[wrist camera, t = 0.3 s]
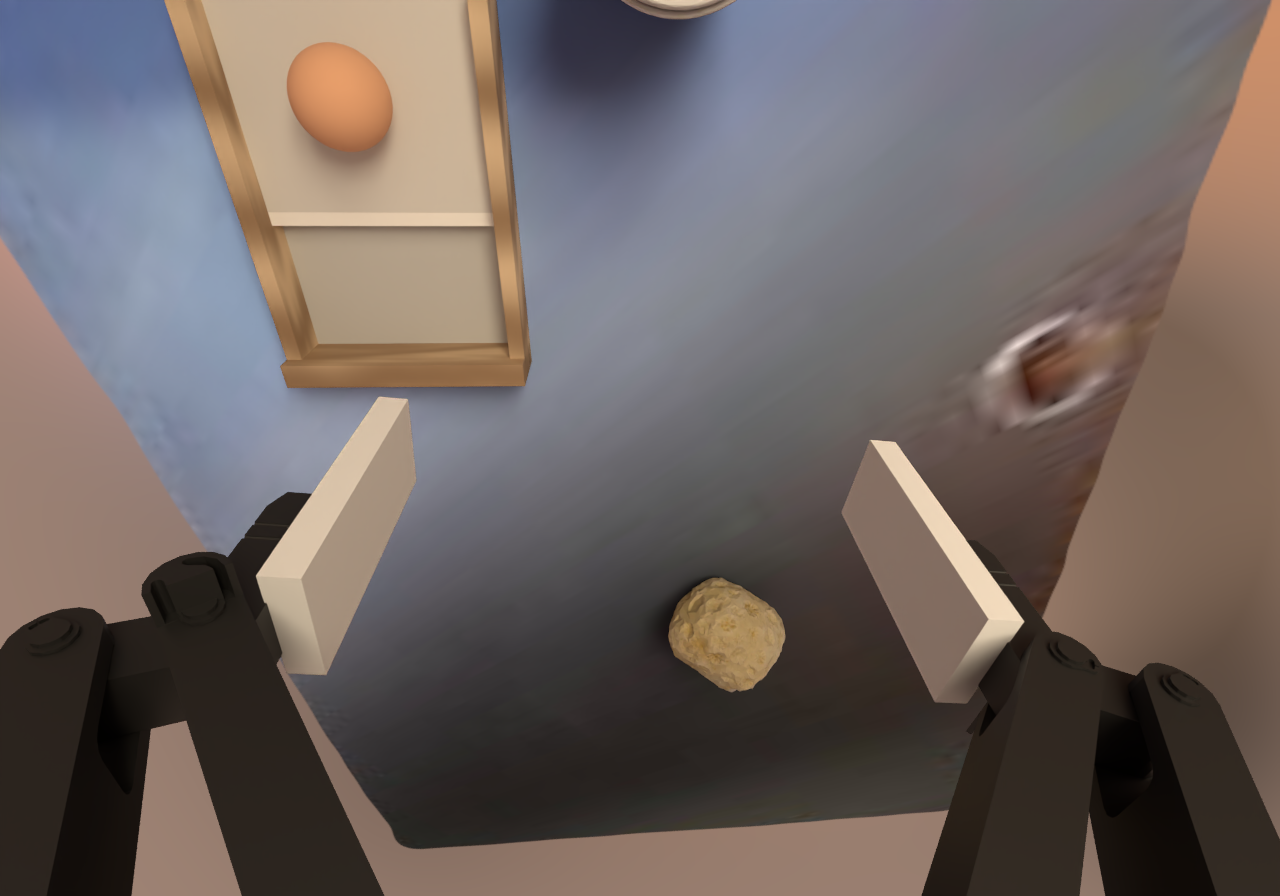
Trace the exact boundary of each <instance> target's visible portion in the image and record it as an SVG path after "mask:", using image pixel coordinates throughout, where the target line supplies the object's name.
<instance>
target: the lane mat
mask: <svg viewBox="0 0 1280 896" xmlns="http://www.w3.org/2000/svg"><path fill="white" fill-rule="evenodd" d="M201 1H202V4H203V7H204V10H205V14H206V17H207V20H208V23H209V26H210V29H211V33H212V36H213V39H214V42H215V45H216V49H217V52H218V55H219V58H220V61H221V64H222V68H223V71H224V74H225V77H226V80H227V84H228V87H229V90H230V93H231V96H232V99H233V103H234V106H235V109H236V112H237V115H238V119H239V122H240V125H241V128H242V131H243V135H244V138H245V141H246V144H247V147H248V150H249V154H250V157H251V160H252V163H253V166H254V170H255V173H256V176H257V179H258V182H259V185H260V189H261V192H262V195H263V198H264V201H265V205H266V208H267V211H268V214H269V217H270V220H271V224H272V226H283V229H284V232H285V236H286V239H287V242H288V245H289V249H290V252H291V255H292V259H293V262H294V265H295V268H296V272H297V275H298V278H299V281H300V285H301V288H302V291H303V295H304V298H305V301H306V304H307V308H308V311H309V314H310V318H311V321H312V324H313V327H314V331H315V334H316V337H317V340H318V344H393V343H508V339H507V331H506V322H505V314H504V305H503V297H502V289H501V280H500V272H499V263H498V255H497V247H496V238H495V230H494V221H493V213H492V205H491V196H490V188H489V179H488V171H487V163H486V154H485V146H484V137H483V129H482V121H481V112H480V104H479V95H478V87H477V79H476V70H475V62H474V53H473V45H472V37H471V28H470V20H469V11H468V3H467V0H201ZM322 42H334V43H339V44H343V45H346V46H349V47H351V48H353V49H355V50H357V51H359V52H360V53H361V54H363V55H364V56H366V57H367V58H368V59H369V60H370V61H371V62H372V63H373V64H374V65H375V66H376V67H377V68H378V70H379V71H380V72H381V74H382V76H383V77H384V79H385V81H386V83H387V85H388V88H389V90H390V94H391V98H392V104H393V115H392V121H391V125H390V127H389V129H388V131H387V133H386V135H385V136H384V138H383V139H382V140H381V141H380V142H379V143H377V144H376V145H375V146H373V147H371V148H369V149H367V150H363V151H359V152H344V151H340V150H336V149H333V148H330V147H328V146H326V145H324V144H322V143H321V142H319V141H318V140H316V139H315V138H314V137H312V136H311V135H310V134H309V133H308V132H307V131H306V130H305V129H304V128H303V127H302V125H301V124H300V123H299V121H298V120H297V118H296V116H295V114H294V113H293V110H292V108H291V105H290V102H289V99H288V94H287V75H288V71H289V68H290V66H291V64H292V62H293V60H294V59H295V57H296V56H297V55H298V54H299V53H300V52H301V51H302V50H304V49H305V48H307V47H308V46H311V45H313V44H317V43H322Z"/></svg>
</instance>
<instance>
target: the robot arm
mask: <svg viewBox="0 0 1280 896" xmlns="http://www.w3.org/2000/svg"><path fill="white" fill-rule="evenodd" d="M415 482H416V473H415V463H414V453H413V443H412V433H411V423H410V413H409V403H408V399H400V398H389V397H378V399H377V400H376V401H375V403H374V404H373V406H372V407H371V409H370V410H369V412H368V413H367V415H366V416H365V418H364V419H363V420H362V422H361V423H360V425H359V426H358V428H357V429H356V431H355V432H354V434H353V435H352V436H351V438H350V439H349V441H348V442H347V444H346V445H345V447H344V448H343V450H342V451H341V453H340V454H339V455H338V457H337V458H336V460H335V461H334V463H333V464H332V466H331V467H330V469H329V470H328V471H327V473H326V474H325V476H324V477H323V479H322V480H321V482H320V483H319V485H318V486H317V488H316V489H315V490H314V492H313V493H312V494H307V493H293V492H287V493H286V494H284V495H283V496H281V497H280V498H278V499H277V500H275V501H274V502H272V503H271V504H269V505H268V506H267V507H266V508H265V509H264V511H263V512H262V513H261V515H260V516H259V517H258V518H257V520H256V521H255V525H252V526H251V528H250V529H249V530H248V531H247V533H246V534H245V538H244V539H241V541H240V542H239V543H238V545H237V546H236V547H235V548H234V550H233V551H232V552H231V554H230V555H229V556H228V558H227V557H226V556H225V555H222V554H218V553H215V552H196V553H192V554H188V555H183V556H179V557H177V558H175V559H173V560H171V561H168V562H166V563H164V564H162V565H161V566H160V567H158V568H157V569H156V570H154V571H153V572H152V573H150V574H149V576H148V577H147V579H146V580H145V581H144V583H143V584H142V597H143V599H144V601H145V604H146V606H147V607H148V610H149V612H150V614H151V616H150V617H145V618H139V619H134V620H128V621H122V622H117V623H112V624H106V622H105V620H104V619H103V617H102V616H101V615H100V614H99V613H97V612H96V611H95V610H93V609H87V608H80V607H78V608H70V609H62V610H58V611H55V612H52V613H49V614H46V615H43V616H40V617H39V618H37V619H35V620H33V621H31V622H29V623H27V624H25V625H23V626H22V627H21V628H20V629H18V630H17V631H16V632H15V633H13V634H12V635H11V636H10V637H9V638H8V639H7V640H6V642H5V643H4V645H3V646H2V648H1V649H0V896H131V894H132V886H133V876H134V869H135V860H136V851H137V842H138V834H139V826H140V817H141V809H142V800H143V791H144V783H145V774H146V766H147V757H148V749H149V740H150V731H151V729H152V728H156V727H161V726H165V725H169V724H173V723H178V722H182V721H187V724H188V727H189V730H190V733H191V737H192V740H193V742H194V746H195V749H196V752H197V755H198V758H199V762H200V765H201V768H202V771H203V774H204V778H205V781H206V783H207V787H208V790H209V793H210V796H211V800H212V803H213V806H214V809H215V812H216V815H217V819H218V822H219V825H220V828H221V831H222V834H223V838H224V841H225V843H226V847H227V850H228V853H229V856H230V860H231V863H232V866H233V869H234V872H235V875H236V879H237V882H238V885H239V888H240V891H241V894H242V896H384V894H383V892H382V890H381V887H380V885H379V883H378V881H377V879H376V877H375V875H374V872H373V870H372V868H371V866H370V864H369V862H368V860H367V858H366V856H365V853H364V851H363V849H362V847H361V845H360V843H359V840H358V838H357V836H356V834H355V832H354V830H353V828H352V825H351V823H350V821H349V819H348V817H347V815H346V813H345V811H344V808H343V806H342V804H341V802H340V800H339V798H338V796H337V794H336V791H335V789H334V787H333V785H332V783H331V781H330V779H329V776H328V774H327V772H326V770H325V768H324V766H323V763H322V762H321V759H320V757H319V755H318V753H317V751H316V749H315V746H314V745H313V742H312V740H311V738H310V736H309V734H308V731H307V729H306V727H305V725H304V723H303V721H302V719H301V716H300V714H299V712H298V710H297V708H296V706H295V704H294V702H293V700H292V697H291V695H290V693H289V691H288V689H287V687H286V684H285V682H284V680H283V678H282V676H281V674H280V672H279V670H278V667H277V665H276V664H277V662H278V660H279V658H280V657H282V660H283V663H284V666H285V670H286V673H290V674H313V675H326V674H327V672H328V670H329V668H330V666H331V664H332V661H333V659H334V657H335V655H336V653H337V651H338V648H339V646H340V644H341V642H342V640H343V638H344V636H345V633H346V631H347V629H348V627H349V625H350V623H351V620H352V618H353V616H354V614H355V612H356V610H357V607H358V605H359V603H360V601H361V599H362V597H363V595H364V592H365V590H366V588H367V586H368V584H369V582H370V579H371V577H372V575H373V573H374V571H375V569H376V566H377V564H378V562H379V560H380V558H381V556H382V554H383V551H384V549H385V547H386V545H387V543H388V541H389V538H390V536H391V534H392V532H393V530H394V528H395V525H396V523H397V521H398V519H399V517H400V515H401V513H402V510H403V508H404V506H405V504H406V502H407V500H408V497H409V495H410V493H411V491H412V489H413V487H414V484H415ZM842 515H843V517H844V519H845V521H846V523H847V525H848V527H849V529H850V531H851V533H852V535H853V537H854V539H855V541H856V543H857V545H858V547H859V549H860V551H861V553H862V555H863V557H864V559H865V561H866V563H867V566H868V568H869V570H870V572H871V574H872V576H873V578H874V580H875V582H876V584H877V586H878V588H879V590H880V592H881V594H882V596H883V598H884V600H885V602H886V604H887V606H888V608H889V610H890V612H891V614H892V616H893V618H894V620H895V622H896V624H897V626H898V628H899V630H900V632H901V634H902V637H903V639H904V641H905V643H906V645H907V647H908V649H909V651H910V653H911V655H912V657H913V659H914V661H915V663H916V665H917V667H918V669H919V671H920V673H921V675H922V677H923V679H924V681H925V683H926V685H927V687H928V689H929V691H930V693H931V695H932V697H933V699H934V701H935V702H946V703H967V702H968V701H969V700H970V698H971V697H972V695H973V694H974V692H975V691H976V690H977V688H978V687H980V689H981V691H982V693H983V694H984V696H985V698H986V700H987V701H988V702H987V703H986V705H985V706H984V707H983V709H982V710H981V711H980V713H979V714H978V716H977V717H976V718H975V720H974V721H973V722H972V724H971V725H970V726H969V728H968V729H967V731H966V732H968V733H970V734H972V733H973V732H974V733H973V737H972V740H971V743H970V746H969V749H968V752H967V755H966V758H965V761H964V765H963V768H962V771H961V774H960V777H959V780H958V783H957V786H956V790H955V793H954V796H953V799H952V802H951V805H950V808H949V811H948V815H947V818H946V821H945V824H944V827H943V830H942V833H941V837H940V839H939V843H938V846H937V849H936V852H935V855H934V858H933V861H932V864H931V868H930V871H929V874H928V877H927V880H926V883H925V886H924V890H923V893H922V896H1079V894H1080V885H1081V877H1082V868H1083V859H1084V850H1085V842H1086V833H1087V824H1088V815H1089V813H1090V818H1091V824H1092V829H1093V834H1094V839H1095V844H1096V850H1097V855H1098V860H1099V865H1100V870H1101V875H1102V881H1103V886H1104V891H1105V896H1280V839H1279V837H1278V835H1277V832H1276V830H1275V828H1274V826H1273V824H1272V821H1271V819H1270V817H1269V814H1268V812H1267V810H1266V808H1265V806H1264V803H1263V801H1262V799H1261V797H1260V794H1259V792H1258V790H1257V787H1256V785H1255V783H1254V781H1253V778H1252V776H1251V774H1250V772H1249V769H1248V767H1247V765H1246V763H1245V760H1244V758H1243V756H1242V754H1241V752H1240V749H1239V747H1238V745H1237V743H1236V740H1235V738H1234V736H1233V733H1232V731H1231V729H1230V727H1229V724H1228V722H1227V720H1226V718H1225V715H1224V713H1223V711H1222V709H1221V706H1220V705H1219V703H1218V702H1217V700H1216V698H1215V697H1214V696H1213V694H1212V693H1211V692H1210V691H1209V690H1208V689H1207V688H1206V687H1204V685H1202V684H1201V683H1200V682H1199V681H1198V680H1196V679H1195V678H1193V677H1192V676H1190V675H1189V674H1187V673H1185V672H1183V671H1181V670H1179V669H1177V668H1175V667H1172V666H1169V665H1165V664H1161V663H1150V664H1148V665H1147V666H1146V667H1144V668H1143V670H1141V672H1140V673H1139V674H1138V675H1137V676H1135V675H1131V674H1128V673H1125V672H1121V671H1118V670H1115V669H1112V668H1108V667H1105V666H1102V665H1101V663H1100V662H1099V660H1098V659H1097V657H1096V656H1095V655H1094V654H1093V653H1092V652H1091V651H1090V650H1089V649H1088V648H1087V647H1085V646H1084V645H1083V644H1081V643H1079V642H1078V641H1076V640H1075V639H1073V638H1071V637H1069V636H1066V635H1063V634H1061V633H1059V632H1052V631H1051V630H1050V628H1049V627H1048V626H1047V624H1046V623H1045V622H1044V620H1043V619H1042V618H1041V616H1040V615H1039V614H1038V612H1037V611H1036V610H1035V608H1034V607H1033V606H1032V604H1031V603H1030V602H1029V600H1028V599H1027V598H1026V596H1025V595H1024V594H1023V592H1022V591H1021V590H1020V588H1019V587H1016V583H1015V582H1014V581H1013V579H1012V578H1011V577H1010V575H1009V574H1006V570H1005V569H1004V567H1003V566H1002V565H1001V563H1000V562H999V561H998V559H997V558H996V557H995V555H993V554H992V553H991V552H990V551H988V550H987V549H986V548H985V547H984V546H982V545H981V544H980V543H979V542H977V541H975V540H965V538H964V537H963V536H962V534H961V533H960V531H959V530H958V529H957V527H956V526H955V524H954V523H953V522H952V520H951V519H950V518H949V516H948V515H947V513H946V512H945V511H944V509H943V508H942V506H941V505H940V504H939V502H938V501H937V499H936V498H935V497H934V495H933V494H932V493H931V491H930V490H929V488H928V487H927V486H926V484H925V483H924V481H923V480H922V479H921V477H920V476H919V474H918V473H917V472H916V470H915V469H914V468H913V466H912V465H911V463H910V462H909V461H908V459H907V458H906V456H905V455H904V454H903V452H902V451H901V449H900V448H899V447H898V445H897V444H896V443H895V442H888V441H877V440H870V442H869V444H868V447H867V450H866V452H865V455H864V457H863V460H862V462H861V465H860V467H859V470H858V472H857V475H856V477H855V480H854V482H853V485H852V487H851V490H850V492H849V495H848V497H847V500H846V503H845V505H844V508H843V510H842Z"/></svg>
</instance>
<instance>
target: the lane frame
mask: <svg viewBox="0 0 1280 896" xmlns="http://www.w3.org/2000/svg"><path fill="white" fill-rule="evenodd" d="M164 1H165V4H166V7H167V10H168V13H169V16H170V19H171V21H172V24H173V27H174V30H175V33H176V36H177V39H178V42H179V45H180V48H181V51H182V54H183V57H184V60H185V62H186V65H187V68H188V71H189V74H190V77H191V80H192V83H193V86H194V89H195V92H196V95H197V98H198V101H199V104H200V106H201V109H202V112H203V115H204V118H205V121H206V124H207V127H208V130H209V133H210V136H211V139H212V142H213V145H214V147H215V150H216V153H217V156H218V159H219V162H220V165H221V168H222V171H223V174H224V177H225V180H226V183H227V186H228V188H229V191H230V194H231V197H232V200H233V203H234V206H235V209H236V212H237V215H238V218H239V221H240V224H241V227H242V229H243V232H244V235H245V238H246V241H247V244H248V247H249V250H250V253H251V256H252V259H253V262H254V265H255V268H256V271H257V273H258V276H259V279H260V282H261V285H262V288H263V291H264V294H265V297H266V300H267V303H268V306H269V309H270V312H271V314H272V317H273V320H274V323H275V326H276V329H277V332H278V335H279V338H280V341H281V344H282V347H283V350H284V353H285V355H286V358H287V360H286V361H285V362H284V363H283V364H282V365H281V366H280V367H281V370H282V373H283V376H284V379H285V382H286V385H287V387H288V388H331V387H460V386H525V384H526V380H527V376H528V373H529V369H530V365H531V362H532V360H531V350H530V339H529V329H528V319H527V309H526V298H525V288H524V278H523V268H522V257H521V247H520V237H519V227H518V217H517V206H516V196H515V186H514V176H513V165H512V155H511V145H510V135H509V124H508V114H507V104H506V94H505V83H504V73H503V63H502V53H501V42H500V32H499V22H498V12H497V1H496V0H467V3H468V11H469V20H470V28H471V37H472V45H473V53H474V62H475V70H476V79H477V87H478V95H479V104H480V112H481V121H482V129H483V137H484V146H485V154H486V163H487V171H488V179H489V188H490V196H491V205H492V213H493V221H494V230H495V238H496V247H497V255H498V263H499V272H500V280H501V289H502V297H503V305H504V314H505V322H506V331H507V339H508V343H393V344H318V340H317V337H316V334H315V331H314V327H313V324H312V321H311V318H310V314H309V311H308V308H307V304H306V301H305V298H304V295H303V291H302V288H301V285H300V281H299V278H298V275H297V272H296V268H295V265H294V262H293V259H292V255H291V252H290V249H289V245H288V242H287V239H286V236H285V232H284V229H283V226H272V224H271V220H270V217H269V214H268V211H267V208H266V205H265V201H264V198H263V195H262V192H261V189H260V185H259V182H258V179H257V176H256V173H255V170H254V166H253V163H252V160H251V157H250V154H249V150H248V147H247V144H246V141H245V138H244V135H243V131H242V128H241V125H240V122H239V119H238V115H237V112H236V109H235V106H234V103H233V99H232V96H231V93H230V90H229V87H228V84H227V80H226V77H225V74H224V71H223V68H222V64H221V61H220V58H219V55H218V52H217V49H216V45H215V42H214V39H213V36H212V33H211V29H210V26H209V23H208V20H207V17H206V14H205V10H204V7H203V4H202V1H201V0H164Z"/></svg>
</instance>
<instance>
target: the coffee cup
mask: <svg viewBox="0 0 1280 896" xmlns="http://www.w3.org/2000/svg"><path fill="white" fill-rule="evenodd" d="M622 1H623V2H624V3H626V4H627V5H629V6H631V7H633V8H635V9H636V10H639V11H641V12H644V13H646V14H649V15H652V16H656V17H660V18H667V19H690V18H697V17H701V16H705V15H708V14H711V13H714V12H716V11H718V10H721V9H723V8H724V7H726V6H728V5H730V4H732V3H733V2H735V1H736V0H622Z"/></svg>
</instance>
